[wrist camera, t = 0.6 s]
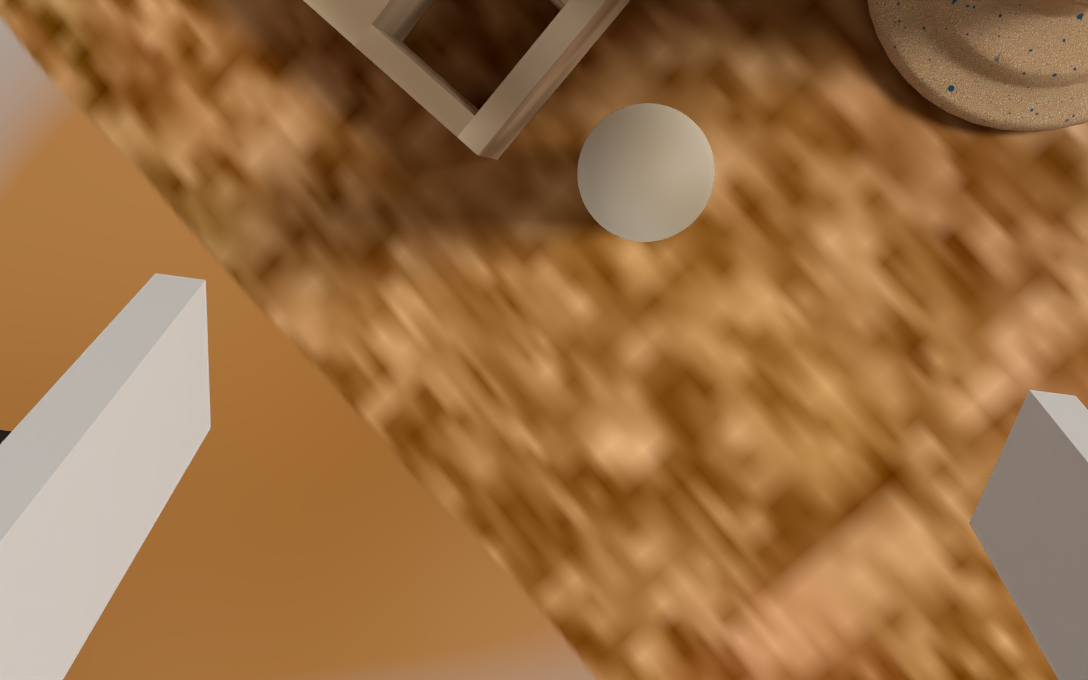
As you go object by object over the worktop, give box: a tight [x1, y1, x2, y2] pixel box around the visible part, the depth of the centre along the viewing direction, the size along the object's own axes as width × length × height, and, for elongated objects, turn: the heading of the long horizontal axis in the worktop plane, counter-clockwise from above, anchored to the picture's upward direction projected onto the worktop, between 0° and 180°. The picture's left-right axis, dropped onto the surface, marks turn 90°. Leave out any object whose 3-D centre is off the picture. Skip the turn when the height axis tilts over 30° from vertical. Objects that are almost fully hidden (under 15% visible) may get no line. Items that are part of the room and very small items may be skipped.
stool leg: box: [577, 103, 715, 242], centre depth 30 cm, size 3×3×16 cm
